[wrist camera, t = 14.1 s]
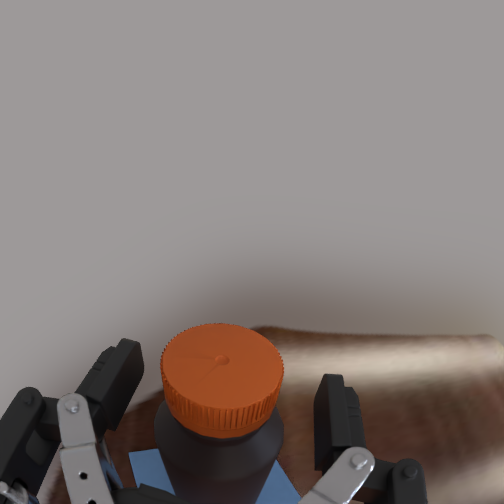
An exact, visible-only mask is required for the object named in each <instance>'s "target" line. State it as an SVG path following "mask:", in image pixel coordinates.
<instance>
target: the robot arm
mask: <svg viewBox="0 0 504 504" xmlns="http://www.w3.org/2000/svg"><path fill="white" fill-rule="evenodd" d="M143 373H144V362H143V357H142V352H141V346H140V343H139V342H137V341H133V340H129V339H125V338H123V339H121V341H120V342H119V344H118V345H117V347H112V346H111V347H109V348H108V349H106V350H105V351H103V352H102V353H101V355H100V356H99V358H98V359H97V362H95V363H94V365H93V366H92V368H91V369H90V371H89V372H88V374H87V375H86V377H85V378H84V380H83V381H82V383H81V384H80V386H79V387H78V389H77V390H76V391H75V393H69V394H66V395H64V396H62V397H61V398H60V399H56V398H49V397H42V395H41V394H40V392H39V391H38V390H37V389H35V388H33V387H26V388H24V389H22V390H20V391H19V392H18V393H17V395H16V397H15V398H14V399H13V401H12V402H11V404H10V406H9V407H8V408H7V410H6V412H5V413H4V415H3V416H2V418H1V420H0V504H39V501H38V499H37V497H36V496H37V494H38V491H39V489H40V486H41V484H42V482H43V480H44V477H45V475H46V473H47V470H48V468H49V466H50V464H51V462H52V459H53V457H54V455H55V453H56V451H57V449H58V447H59V445H60V443H61V442H62V445H63V447H62V448H60V450H59V452H60V459H61V464H62V468H63V473H64V477H65V481H66V485H67V489H68V492H69V496H70V499H71V503H72V504H195V503H190V502H188V501H186V500H183V499H181V498H179V497H177V496H175V495H173V494H171V493H170V492H168V491H166V490H162V489H159V488H155V487H152V486H149V485H146V484H143V483H140V486H139V488H137V487H129V488H124V487H123V485H122V482H121V480H120V478H119V476H118V474H117V472H116V470H115V467H114V464H113V462H112V458H111V455H110V452H109V449H108V446H107V443H106V439H105V436H104V434H105V432H106V430H107V429H109V430H112V431H116V429H117V427H118V425H119V422H120V420H121V418H122V416H123V414H124V412H125V410H126V408H127V406H128V404H129V402H130V400H131V398H132V396H133V394H134V392H135V390H136V388H137V387H138V385H139V383H140V381H141V379H142V376H143ZM314 444H315V471H322V478H321V479H320V480H319V481H318V482H317V483H316V485H315V486H314V487H313V488H312V489H311V490H310V491H309V492H308V493H307V494H306V495H305V496H304V497H303V498H302V499H301V500H300V501H299V502H298V503H297V504H348V503H349V501H350V500H351V499H352V500H356V501H360V502H364V504H428V501H427V493H426V485H425V478H424V471H423V468H422V466H421V464H420V463H419V462H417V461H416V460H413V459H403V460H400V461H399V462H398V463H397V464H396V463H391V462H387V461H382V460H379V459H377V458H375V457H373V455H372V454H371V452H370V451H368V450H367V447H366V443H365V436H364V429H363V423H362V417H361V410H360V404H359V399H358V396H357V394H356V392H355V391H354V389H353V388H352V387H344V380H343V376H342V375H338V374H324V375H323V378H322V380H321V383H320V385H319V388H318V390H317V393H316V395H315V399H314ZM206 504H224V503H206Z"/></svg>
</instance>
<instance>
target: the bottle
mask: <svg viewBox="0 0 504 504" xmlns="http://www.w3.org/2000/svg"><path fill="white" fill-rule="evenodd" d="M162 354H163V355H162V356H161V363H160V365H161V367H160V369H161V375H162V382H163V387H164V394H165V400H164V401H163V402H162V403H161V404H160V406H159V409H158V411H157V414H156V417H155V419H154V432H155V441H156V444H157V447H158V450H159V453H160V456H161V459H162V461H163V464H164V467H165V470H166V472H167V475H168V477H169V480H170V483H171V485H172V488H173V490H174V493H175V495H176V496H177V497H179V498H181V499H183V500H186V501H188V502H190V503H195V504H206V503H224V504H255V503H256V501H257V499H258V497H259V495H260V493H261V491H262V488H263V486H264V484H265V482H266V480H267V478H268V476H269V474H270V472H271V469H272V467H273V465H274V463H275V460H276V458H277V456H278V454H279V451H280V449H281V447H282V444H283V432H284V425H283V422H282V420H281V417H280V414H279V412H278V409H277V408H276V407H275V405H276V402H277V398H278V394H279V390H280V387H281V383H282V380H283V376H284V375H283V374H284V371H283V370H284V367H283V365H284V364H283V363H282V362H283V360H281V357H282V356H279V355H280V353H278V350H277V349H276V348H275V346H273V343H272V344H271V343H270V341H268V340H267V338H265V337H263V336H261V335H260V334H259V333H256V332H255V331H253V330H250V329H247V328H244V327H241V326H237V325H230V324H223V323H219V324H215V323H214V324H205V325H200V326H196V327H192V328H190V329H188V330H186V331H185V330H184V332H181V333H180V334H178V335H177V336H176V337H174V339H173V340H171V342H169V343H168V345H166V349H165V348H164V352H162Z"/></svg>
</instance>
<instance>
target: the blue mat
mask: <svg viewBox="0 0 504 504" xmlns="http://www.w3.org/2000/svg"><path fill="white" fill-rule="evenodd" d="M129 458H130V462H131V466H132V470H133V473H134V477H135V481H136V484H137V488H139V486H140V483H143V484H146V485H149V486H152V487H155V488H159V489H162V490H166V491H168V492H170V493H171V494H173V495H175V493H174V490H173V488H172V485H171V483H170V480H169V477H168V475H167V472H166V470H165V467H164V464H163V461H162V459H161V456H160V453H159V450H158V449H152V450H145V451H138V452H130V453H129ZM175 496H176V495H175ZM300 500H301V497H300V496H299V494H298V493H297V491H296V490H295V488H294V487H293V485H292V484H291V482H290V481H289V479H288V478H287V476H286V474H285V473H284V471H283V470H282V468H281V467H280V465H279V463H278V462H277V460H275V463H274V465H273V467H272V469H271V472H270V474H269V476H268V478H267V480H266V482H265V484H264V486H263V488H262V491H261V493H260V495H259V497H258V499H257V501H256V503H255V504H297V503H298V502H299V501H300Z"/></svg>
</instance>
